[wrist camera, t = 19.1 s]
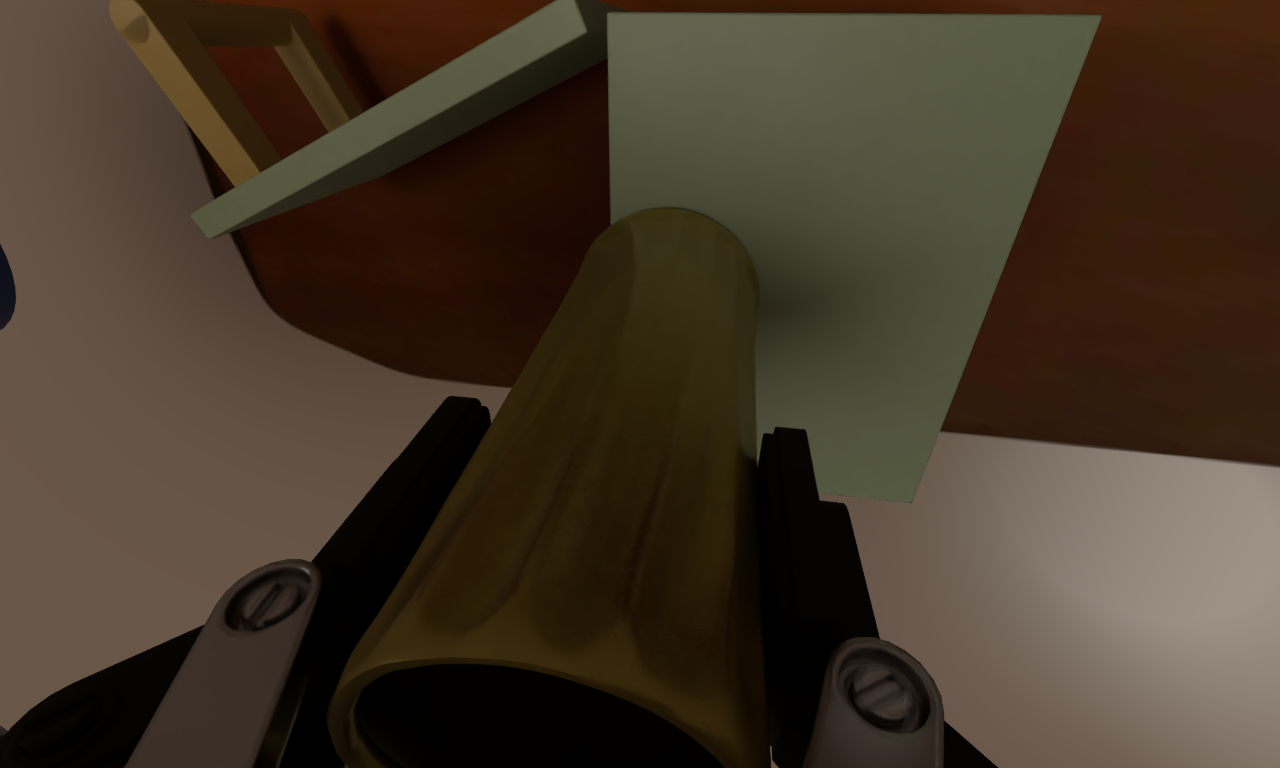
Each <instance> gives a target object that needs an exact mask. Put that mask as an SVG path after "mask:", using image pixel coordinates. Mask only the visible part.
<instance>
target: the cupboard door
mask: <svg viewBox="0 0 1280 768" xmlns="http://www.w3.org/2000/svg"><path fill="white" fill-rule="evenodd" d="M608 12H630V11H627V10H624V9H621V8H618V7H615V6H612V5H609V4H606V3H603V2H600V1H597V0H555V1H554V2H552V3H550V4H549V5H547V6H545V7H543V8H542V9H540V10H538V11H537V12H535V13H533V14H531V15H530V16H528V17H526V18H525V19H523V20H521V21H519V22H518V23H516V24H514V25H513V26H511V27H509V28H507V29H506V30H504V31H502V32H501V33H499V34H497V35H495V36H494V37H492V38H490V39H489V40H487V41H485V42H483V43H482V44H480V45H478V46H477V47H475V48H473V49H471V50H470V51H468V52H466V53H465V54H463V55H461V56H460V57H458V58H456V59H454V60H453V61H451V62H449V63H448V64H446V65H444V66H442V67H441V68H439V69H437V70H436V71H434V72H432V73H430V74H429V75H427V76H425V77H424V78H422V79H420V80H418V81H417V82H415V83H413V84H412V85H410V86H408V87H406V88H405V89H403V90H401V91H400V92H398V93H396V94H394V95H393V96H391V97H389V98H388V99H386V100H384V101H382V102H381V103H379V104H377V105H376V106H374V107H372V108H370V109H369V110H367V111H365V112H363V110H362V108H361V107H360V105H359V103H358V102H357V100H356V98H355V97H354V95H353V93H352V92H351V90H350V88H349V87H348V85H347V83H346V82H345V80H344V78H343V77H342V75H341V73H340V72H339V70H338V68H337V67H336V65H335V63H334V62H333V60H332V59H331V57H330V55H329V54H328V52H327V50H326V49H325V47H324V45H323V44H322V42H321V40H320V39H319V37H318V35H317V34H316V32H315V30H314V29H313V27H312V25H311V23H310V21H309V20H308V18H307V17H306V16H305V15H304V14H303V13H302V12H301V11H299V10H297V9H291V8H279V7H268V6H256V5H244V4H233V3H221V2H209V1H198V0H110V2H109V14H110V17H111V20H112V22H113V24H114V26H115V27H116V29H117V30H118V32H119V33H120V34H121V36H122V37H123V38H124V40H125V41H126V42H127V43H128V45H129V46H130V48H131V49H132V50H133V52H134V53H135V54H136V56H137V57H138V58H139V59H140V61H141V62H142V64H143V65H144V66H145V67H146V69H147V70H148V72H149V73H150V74H151V75H152V77H153V78H154V80H155V81H156V82H157V84H158V85H159V86H160V88H161V89H162V90H163V92H164V93H165V94H166V96H167V97H168V98H169V100H170V101H171V102H172V104H173V105H174V106H175V107H176V109H177V110H178V112H179V113H180V114H181V116H182V117H183V118H184V120H185V121H186V122H187V124H188V125H189V126H190V128H191V129H192V130H193V132H194V133H195V134H196V136H197V137H198V138H199V140H200V141H201V142H202V144H203V145H204V146H205V147H206V149H207V150H208V151H209V153H210V154H211V155H212V157H213V158H214V159H215V161H216V162H217V163H218V165H219V166H220V167H221V169H222V170H223V171H224V173H225V174H226V175H227V177H228V178H229V179H230V181H231V182H232V183H233V185H234V186H235V188H233V189H232V190H230V191H228V192H226V193H225V194H223V195H221V196H220V197H218V198H216V199H214V200H213V201H211V202H210V203H208V204H206V205H204V206H202V207H201V208H199V209H197V210H196V211H194V212H192V213H191V214H190V217H191V218H192V219H193V221H195V223H196V224H197V225H198V227H199V228H200V229H201V230H202V231H203V233H204V234H205V235H206V237H207V238H208V239H213V238H216V237H218V236H221V235H224V234H226V233H229V232H232V231H235V230H237V229H240V228H243V227H245V226H248V225H251V224H254V223H256V222H259V221H262V220H264V219H267V218H270V217H273V216H275V215H278V214H281V213H283V212H286V211H289V210H292V209H294V208H297V207H300V206H302V205H305V204H308V203H311V202H313V201H316V200H319V199H321V198H324V197H327V196H330V195H332V194H335V193H338V192H340V191H343V190H346V189H349V188H351V187H354V186H357V185H359V184H362V183H365V182H368V181H370V180H373V179H376V178H378V177H381V176H384V175H385V174H387V173H389V172H391V171H393V170H395V169H397V168H399V167H401V166H403V165H405V164H407V163H408V162H410V161H412V160H414V159H416V158H418V157H420V156H422V155H424V154H426V153H428V152H429V151H431V150H433V149H435V148H437V147H439V146H441V145H443V144H445V143H447V142H449V141H451V140H452V139H454V138H456V137H458V136H460V135H462V134H464V133H466V132H468V131H470V130H472V129H473V128H475V127H477V126H479V125H481V124H483V123H485V122H487V121H489V120H491V119H493V118H494V117H496V116H498V115H500V114H502V113H504V112H506V111H508V110H510V109H512V108H514V107H516V106H517V105H519V104H521V103H523V102H525V101H527V100H529V99H531V98H533V97H535V96H537V95H538V94H540V93H542V92H544V91H546V90H548V89H550V88H552V87H554V86H556V85H558V84H560V83H561V82H563V81H565V80H567V79H569V78H571V77H573V76H575V75H577V74H579V73H581V72H582V71H584V70H586V69H588V68H590V67H592V66H594V65H596V64H598V63H600V62H602V61H604V60H605V59H607V58H608V54H607V13H608ZM204 46H274V48H275V49H276V51H277V53H278V54H279V56H280V57H281V59H282V60H283V62H284V63H285V65H286V67H287V68H288V70H289V71H290V73H291V74H292V76H293V77H294V79H295V81H296V82H297V84H298V85H299V87H300V88H301V90H302V92H303V93H304V95H305V96H306V98H307V99H308V101H309V102H310V104H311V106H312V107H313V109H314V110H315V112H316V113H317V115H318V116H319V118H320V120H321V121H322V123H323V124H324V126H325V127H326V129H327V130H328V132H329V133H328V134H326V135H324V136H322V137H321V138H319V139H317V140H316V141H314V142H312V143H310V144H309V145H307V146H305V147H304V148H302V149H300V150H298V151H297V152H295V153H293V154H292V155H290V156H288V157H286V158H285V159H283V160H282V159H281V157H280V156H279V154H278V153H277V151H276V150H275V148H274V147H273V146H272V144H271V143H270V141H269V140H268V138H267V137H266V136H265V134H264V133H263V131H262V130H261V128H260V127H259V125H258V124H257V123H256V121H255V120H254V118H253V117H252V115H251V114H250V113H249V111H248V110H247V108H246V107H245V105H244V104H243V102H242V101H241V100H240V98H239V97H238V95H237V94H236V92H235V91H234V89H233V88H232V87H231V85H230V84H229V82H228V81H227V79H226V78H225V77H224V75H223V74H222V72H221V71H220V69H219V68H218V66H217V65H216V64H215V62H214V61H213V59H212V58H211V56H210V55H209V53H208V52H207V51H206V49H205V48H204Z"/></svg>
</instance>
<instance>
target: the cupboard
mask: <svg viewBox="0 0 1280 768" xmlns="http://www.w3.org/2000/svg"><path fill="white" fill-rule="evenodd" d="M1100 20H1101V15H1092V14H914V13H735V12H608V13H607V54H608V109H609V163H610V218H611V225H612V224H614V223H615V222H617V221H618V220H620V219H622V218H624V217H626V216H629V215H631V214H634V213H636V212H640V211H644V210H650V209H661V208H670V209H681V210H687V211H691V212H694V213H697V214H700V215H703V216H705V217H707V218H709V219H711V220H713V221H714V222H716V223H717V224H719V225H720V226H722V227H723V228H725V229H726V230H727V231H729V232H730V233H731V234H732V235H733V236H734V237H735V238H736V239H737V240H738V241H739V243H740V244H741V245H742V247H743V248H744V249H745V251H746V253H747V254H748V256H749V258H750V260H751V262H752V264H753V267H754V269H755V272H756V275H757V279H758V284H759V290H760V296H759V307H758V312H757V316H756V344H755V372H756V419H757V467H758V461H759V455H760V449H761V443H762V438H763V434H764V433H770V434H773V433H774V429H775V427H786V428H797V429H805V430H806V432H807V436H808V442H809V447H810V452H811V457H812V463H813V468H814V473H815V479H816V484H817V489H818V493H822V494H831V495H841V496H850V497H858V498H868V499H878V500H887V501H895V502H904V503H912V501H913V498H914V496H915V493H916V490H917V488H918V486H919V483H920V481H921V478H922V475H923V473H924V470H925V468H926V465H927V463H928V460H929V457H930V455H931V452H932V450H933V447H934V445H935V442H936V439H937V437H938V434H939V432H940V429H941V427H942V424H943V422H944V419H945V417H946V414H947V411H948V409H949V406H950V404H951V401H952V399H953V396H954V394H955V391H956V388H957V386H958V383H959V381H960V378H961V376H962V373H963V370H964V368H965V365H966V363H967V360H968V358H969V355H970V353H971V350H972V347H973V345H974V342H975V340H976V337H977V335H978V332H979V330H980V327H981V324H982V322H983V319H984V317H985V314H986V312H987V309H988V306H989V304H990V301H991V299H992V296H993V294H994V291H995V289H996V286H997V283H998V281H999V278H1000V276H1001V273H1002V271H1003V268H1004V266H1005V263H1006V260H1007V258H1008V255H1009V253H1010V250H1011V248H1012V245H1013V243H1014V240H1015V237H1016V235H1017V232H1018V230H1019V227H1020V225H1021V222H1022V219H1023V217H1024V214H1025V212H1026V209H1027V207H1028V204H1029V202H1030V199H1031V196H1032V194H1033V191H1034V189H1035V186H1036V184H1037V181H1038V179H1039V176H1040V173H1041V171H1042V168H1043V166H1044V163H1045V161H1046V158H1047V156H1048V153H1049V150H1050V148H1051V145H1052V143H1053V140H1054V138H1055V135H1056V132H1057V130H1058V127H1059V125H1060V122H1061V120H1062V117H1063V115H1064V112H1065V109H1066V107H1067V104H1068V102H1069V99H1070V97H1071V94H1072V92H1073V89H1074V86H1075V84H1076V81H1077V79H1078V76H1079V74H1080V71H1081V69H1082V66H1083V63H1084V61H1085V58H1086V56H1087V53H1088V51H1089V48H1090V45H1091V43H1092V40H1093V38H1094V35H1095V33H1096V30H1097V28H1098V25H1099V22H1100Z"/></svg>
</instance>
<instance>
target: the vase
mask: <svg viewBox="0 0 1280 768" xmlns="http://www.w3.org/2000/svg"><path fill="white" fill-rule="evenodd" d="M759 296H760V290H759V284H758V279H757V275H756V272H755V269H754V267H753V264H752V262H751V260H750V258H749V256H748V254H747V253H746V251H745V249H744V248H743V247H742V245H741V244H740V243H739V241H738V240H737V239H736V238H735V237H734V236H733V235H732V234H731V233H730V232H729V231H727V230H726V229H725V228H723V227H722V226H720V225H719V224H717V223H716V222H714V221H713V220H711V219H709V218H707V217H705V216H703V215H700V214H697V213H694V212H691V211H687V210H681V209H670V208H661V209H650V210H644V211H640V212H636V213H634V214H631V215H629V216H626V217H624V218H622V219H620V220H618V221H617V222H615V223H614V224H612V225H611V226H609V227H608V228H607V229H606V230H605V231H603V232H602V233H601V234H600V235H599V236H598V237H597V238H596V239H595V240H594V241H593V243H592V244H591V246H590V247H589V249H588V251H587V253H586V255H585V258H584V260H583V263H582V265H581V268H580V271H579V273H578V275H577V276H576V278H575V280H574V282H573V283H572V285H571V287H570V289H569V291H568V292H567V294H566V296H565V298H564V300H563V302H562V304H561V306H560V308H559V309H558V311H557V313H556V314H555V316H554V318H553V319H552V321H551V322H550V324H549V326H548V327H547V329H546V331H545V333H544V334H543V336H542V338H541V339H540V341H539V343H538V345H537V346H536V348H535V350H534V352H533V353H532V355H531V357H530V359H529V360H528V362H527V364H526V366H525V367H524V369H523V371H522V373H521V374H520V376H519V378H518V379H517V381H516V382H515V384H514V386H513V387H512V389H511V391H510V392H509V394H508V396H507V398H506V400H505V401H504V403H503V405H502V407H501V408H500V410H499V412H498V413H497V415H496V417H495V418H494V420H493V422H492V423H491V425H490V427H489V428H488V430H487V432H486V433H485V435H484V437H483V438H482V440H481V442H480V444H479V445H478V447H477V449H476V450H475V452H474V454H473V456H472V457H471V459H470V461H469V462H468V464H467V466H466V467H465V469H464V471H463V472H462V474H461V476H460V477H459V479H458V481H457V482H456V484H455V485H454V487H453V489H452V490H451V492H450V494H449V495H448V497H447V499H446V501H445V502H444V504H443V506H442V507H441V509H440V511H439V513H438V515H437V516H436V518H435V520H434V522H433V523H432V525H431V527H430V529H429V530H428V532H427V534H426V536H425V538H424V539H423V541H422V543H421V545H420V546H419V548H418V550H417V552H416V554H415V555H414V557H413V559H412V560H411V562H410V564H409V565H408V567H407V568H406V570H405V572H404V573H403V575H402V577H401V578H400V580H399V581H398V583H397V585H396V586H395V588H394V590H393V591H392V593H391V594H390V596H389V598H388V599H387V601H386V602H385V604H384V605H383V607H382V609H381V610H380V612H379V613H378V615H377V616H376V618H375V619H374V620H373V622H372V623H371V625H370V626H369V628H368V629H367V630H366V632H365V633H364V635H363V636H362V638H361V639H360V641H359V642H358V644H357V646H356V647H355V649H354V650H353V652H352V653H351V656H350V658H349V660H348V662H347V664H346V666H345V668H344V671H343V673H342V676H341V678H340V680H339V683H338V685H337V688H336V690H335V692H334V694H333V696H332V699H331V701H330V704H329V708H328V711H327V726H328V729H329V733H330V736H331V740H332V743H333V745H334V748H335V750H336V753H337V754H338V755H339V757H340V758H341V759H342V761H343V762H344V763H345V764H346V765H347V766H348V767H349V768H771V755H770V742H769V727H768V712H767V695H766V677H765V655H764V633H763V615H762V594H761V567H760V541H759V518H758V497H757V419H756V372H755V344H756V316H757V312H758V307H759Z"/></svg>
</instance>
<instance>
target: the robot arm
mask: <svg viewBox="0 0 1280 768" xmlns="http://www.w3.org/2000/svg"><path fill="white" fill-rule="evenodd" d="M490 425H491V420H490V413H489V409H488V408H487V407H486V406H481V402H480V401H479V399H476V398H467V397H457V396H449V397H447V398H446V399H445V400H444V402H443V403H442V404H441V405H440V406H439V408H438V409H437V410H436V411H435V413H434V414H433V415H432V416H431V418H430V419H429V420H428V421H427V422H426V424H425V425H424V426H423V427H422V429H421V430H420V431H419V432H418V434H417V435H416V436H415V437H414V439H413V440H412V441H411V442H410V444H409V445H408V446H407V447H406V448H405V449H404V451H403V452H402V453H401V454H400V456H399V457H398V458H397V459H396V460H395V461H394V462H392V464H391V465H390V466H389V467H388V469H387V470H386V471H385V472H384V473H383V475H382V476H381V477H380V478H379V480H378V481H377V482H376V483H375V485H374V486H373V487H372V488H371V489H370V491H369V492H368V493H367V494H366V495H365V497H364V498H363V499H362V500H361V502H360V503H359V504H358V505H357V506H356V508H355V509H354V510H353V511H352V513H351V514H350V515H349V516H348V518H347V519H346V520H345V521H344V523H343V524H342V525H341V526H340V527H339V529H338V530H337V531H336V532H335V533H334V535H333V536H332V537H331V539H330V540H329V541H328V542H327V543H326V545H325V546H324V547H323V548H322V550H321V551H320V552H319V553H318V554H317V556H316V557H315V558H314V559H313V560H312V562H308V561H305V560H302V559H286V560H282V561H277V562H273V563H270V564H267V565H265V566H263V567H260V568H258V569H256V570H254V571H252V572H250V573H249V574H247V575H246V576H244V577H242V578H241V579H239V580H238V581H237V582H236V583H235V584H234V585H232V586H231V587H230V588H229V589H228V590H227V591H226V592H225V593H224V595H223V596H222V597H221V599H220V600H219V601H218V603H217V604H216V606H215V607H214V609H213V611H212V613H211V615H210V617H209V618H208V620H207V622H206V623H205V625H203V626H200V627H198V628H196V629H193V630H192V631H189V632H187V633H184V634H182V635H180V636H178V637H175V638H173V639H171V640H169V641H167V642H164V643H162V644H160V645H158V646H156V647H153V648H151V649H149V650H146V651H144V652H142V653H140V654H137V655H135V656H133V657H131V658H128V659H126V660H124V661H122V662H119V663H117V664H115V665H113V666H110V667H108V668H106V669H104V670H101V671H99V672H97V673H95V674H93V675H90V676H88V677H86V678H84V679H81V680H79V681H77V682H75V683H72V684H70V685H69V686H67V687H65V688H63V689H61V690H59V691H57V692H55V693H54V694H52V695H50V696H49V697H47V698H46V699H44V700H43V701H42V702H40V703H39V704H37V705H36V706H35V707H33V708H32V709H30V710H29V711H28V712H27V713H26V714H25V715H24V716H23V717H22V718H21V719H20V720H19V721H18V722H17V723H16V724H14V725H13V726H12V727H11V728H10V730H9V731H7V730H5V729H4V728H3V727H2V726H0V768H349V767H348V766H347V765H346V764H345V763H344V762H343V761H342V759H341V758H340V757H339V755H338V754H337V753H336V750H335V748H334V745H333V743H332V740H331V736H330V733H329V729H328V726H327V711H328V708H329V704H330V701H331V699H332V696H333V694H334V692H335V690H336V688H337V685H338V683H339V680H340V678H341V676H342V673H343V671H344V668H345V666H346V664H347V662H348V660H349V658H350V656H351V653H352V652H353V650H354V649H355V647H356V646H357V644H358V642H359V641H360V639H361V638H362V636H363V635H364V633H365V632H366V630H367V629H368V628H369V626H370V625H371V623H372V622H373V620H374V619H375V618H376V616H377V615H378V613H379V612H380V610H381V609H382V607H383V605H384V604H385V602H386V601H387V599H388V598H389V596H390V594H391V593H392V591H393V590H394V588H395V586H396V585H397V583H398V581H399V580H400V578H401V577H402V575H403V573H404V572H405V570H406V568H407V567H408V565H409V564H410V562H411V560H412V559H413V557H414V555H415V554H416V552H417V550H418V548H419V546H420V545H421V543H422V541H423V539H424V538H425V536H426V534H427V532H428V530H429V529H430V527H431V525H432V523H433V522H434V520H435V518H436V516H437V515H438V513H439V511H440V509H441V507H442V506H443V504H444V502H445V501H446V499H447V497H448V495H449V494H450V492H451V490H452V489H453V487H454V485H455V484H456V482H457V481H458V479H459V477H460V476H461V474H462V472H463V471H464V469H465V467H466V466H467V464H468V462H469V461H470V459H471V457H472V456H473V454H474V452H475V450H476V449H477V447H478V445H479V444H480V442H481V440H482V438H483V437H484V435H485V433H486V432H487V430H488V428H489V427H490ZM757 497H758V518H759V541H760V567H761V594H762V615H763V633H764V655H765V677H766V695H767V712H768V727H769V742H770V746H772V760H773V761H774V763H775V764H776V765H777V766H778V767H779V768H998V767H997V766H996V765H994V764H993V763H992V762H991V761H990V760H989V759H988V758H986V757H985V756H984V755H983V754H982V753H981V752H980V751H978V750H977V749H976V748H975V747H974V746H973V745H972V744H970V743H969V742H968V741H967V740H966V739H965V738H964V737H963V736H961V735H960V734H959V733H958V732H957V731H956V730H955V729H953V728H952V727H951V726H950V725H949V724H948V723H946V722H945V721H944V710H943V704H942V697H941V695H940V692H939V690H938V688H937V686H936V684H935V682H934V680H933V678H932V677H931V676H930V675H929V673H928V672H927V671H926V669H925V668H924V667H923V666H922V664H921V663H920V662H919V661H917V660H916V659H915V658H914V657H912V656H911V655H910V654H909V653H907V652H906V651H905V650H903V649H901V648H899V647H898V646H896V645H894V644H892V643H890V642H888V641H884V640H880V637H879V633H878V629H877V625H876V621H875V617H874V613H873V609H872V605H871V601H870V597H869V593H868V589H867V585H866V581H865V576H864V572H863V568H862V564H861V560H860V557H859V552H858V548H857V544H856V540H855V536H854V532H853V528H852V524H851V520H850V516H849V512H848V509H847V507H846V505H845V504H844V503H837V502H827V501H820V500H819V495H818V489H817V484H816V479H815V473H814V468H813V463H812V457H811V452H810V447H809V442H808V436H807V432H806V430H805V429H797V428H786V427H775V429H774V433H773V434H770V433H764V434H763V438H762V443H761V449H760V455H759V461H758V467H757Z"/></svg>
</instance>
